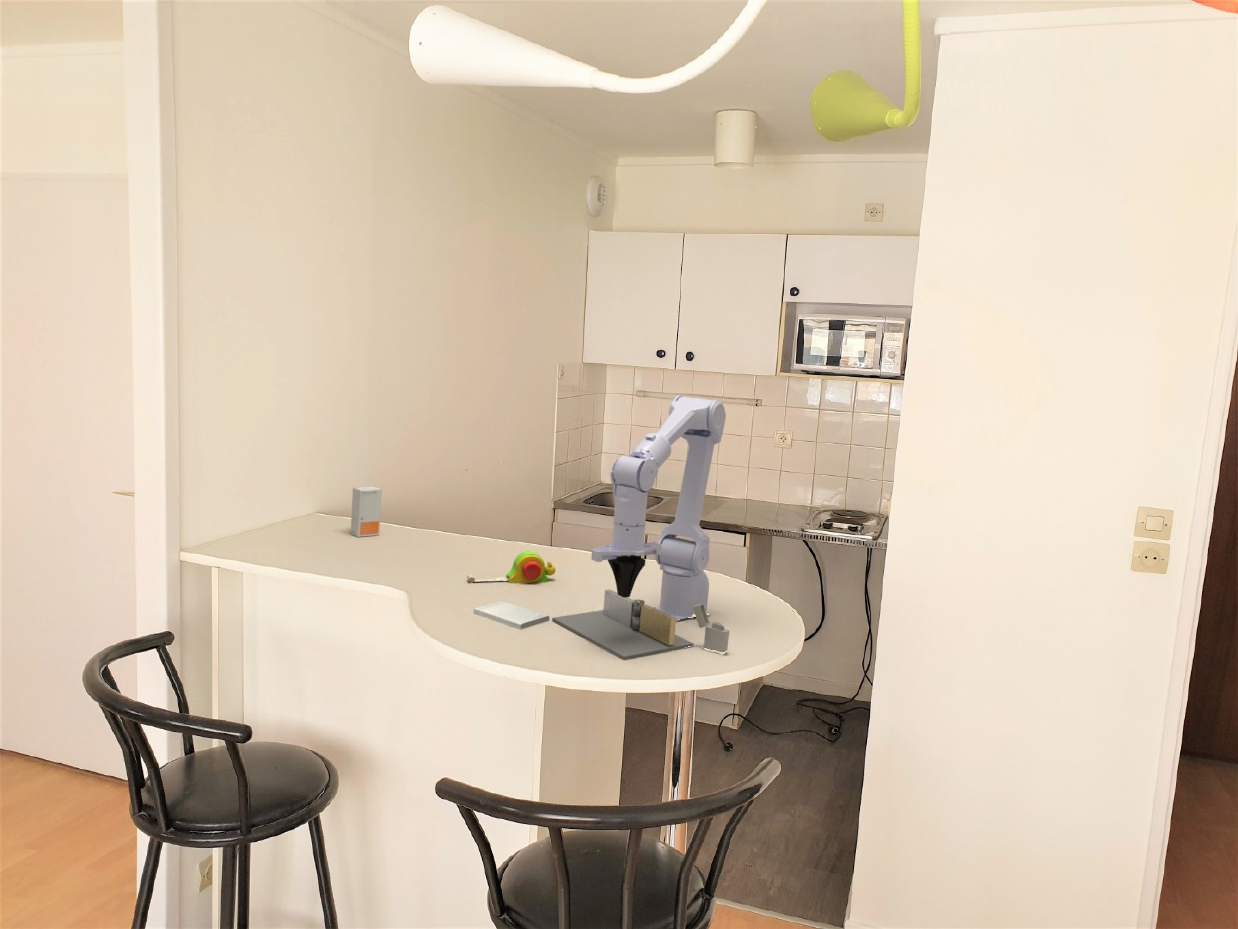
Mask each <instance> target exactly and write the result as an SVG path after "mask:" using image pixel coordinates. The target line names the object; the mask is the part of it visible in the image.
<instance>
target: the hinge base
mask: <svg viewBox="0 0 1238 929" xmlns="http://www.w3.org/2000/svg"><path fill="white" fill-rule="evenodd" d="M603 598H604V600H603V610H596V611H588V612H583V613H574V614H569V615H562V616H554V617H552V618H551V621H552V622H554V623H556V624H557V625H559V626H561V627H562V628H564V629H565V630H566V629H567V631H568V630H569V631H571V633H574V634H576V635H577V636H579V637H581V638H583V639H584V640H586V641H588V642H590V643H592V644H594V645H596V646H597V647H599V648H601V649H602V650H605V651H607V652H609V653H610V654H612V655H614V656H616V657H618V658H619V659H621V660H622V661H625V660H626V661H627V660H630V659H637V658H642V657H648V656H650V655H651V656H652V655H658V654H661V653H666V652H672V650H673V651H677V650H683V649H682V648H684V649H686V648H685V647H688V646H692V645H693V646H694V643H693V642H692V641H690V640H687V639H685V638H684V637H681V636H679V635H676V634H675V638H674V645H667V644H665V643H663V642H661V641H659V640H657V639H655V638H653V637H651V636H649V635H647V634H645V633H643V632H640V631H639V629H640V617H637V616H634V615H633V608H634V600H635V599H632V598H631V597H625V598H624V597H621V596H619V595H618V593H617V592H616V591H614V590H613V589H609V588H608V589H604V597H603Z"/></svg>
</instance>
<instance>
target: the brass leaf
mask: <svg viewBox="0 0 1238 929" xmlns="http://www.w3.org/2000/svg"><path fill="white" fill-rule="evenodd" d="M633 600H634V608H633V615H634V616H637V617H640V629H639V631H640V632H643V633H645V634H647V635H649V636H651V637H653V638H655V639H657V640H659V641H661V642H663V643H665V644H667V645H674V638H675V635H676V627H677V626H676V625H677V621H676V617H673V616H671V615H669V614H667V613H664V612H662V611H660V610H658V609H655V608H653V607H654V606H650V605H648V604H646V603H645V600H643V599H633Z"/></svg>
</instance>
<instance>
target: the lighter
mask: <svg viewBox="0 0 1238 929" xmlns="http://www.w3.org/2000/svg"><path fill="white" fill-rule="evenodd" d="M693 609H694V612H695V615H696V618H695V619H696V622H697V626H698V628H699V629H700V628H705V629H704V630H705V631H704V639H703V640H704V642H703V649H704V648H707V649H710V650H716V651H719V652H725V651H726V650H727V651H728V646H729V636H730V629H726V628H725V625H724V624H723V623H722V622H718V621H713V622H711V624H710V619H709V617H708V616H709V615H708V616H707V613H706V610H705V606H704V604H703V603H701V604H697V605H694V606H693Z"/></svg>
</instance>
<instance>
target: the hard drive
mask: <svg viewBox="0 0 1238 929" xmlns="http://www.w3.org/2000/svg"><path fill="white" fill-rule="evenodd" d="M474 614H475V615H478V616H480V617H483V618H486V619H489V620H491V621H495V622H498V623H500V624H503V625H506V626H509V627H512V628H515V629H518V630H524V629H527V628H530V627H533V626H536V625H539V624H543V623H546V622H549V621H550V616H549V615H547V614H544V613H540V612H537V611H534V610H532V609H529V608H525V607H523V606H520V605H517V604H514V603H510V602H507V601H504V600H499V601H497V602H493V603H488V604H486V605H482V606H478V607H475V608H474V609H473V615H474Z"/></svg>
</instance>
